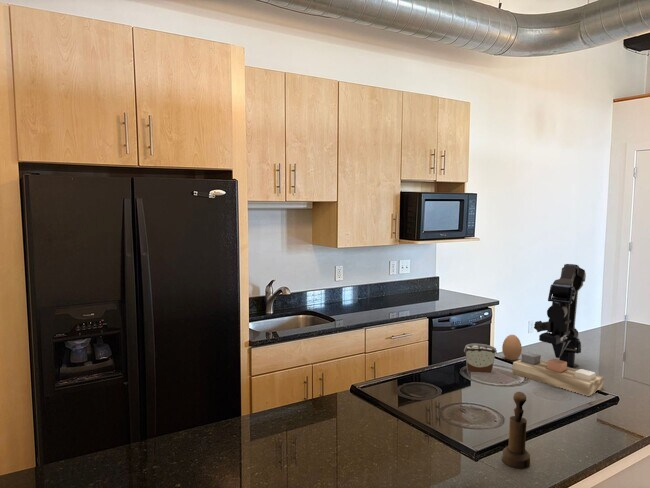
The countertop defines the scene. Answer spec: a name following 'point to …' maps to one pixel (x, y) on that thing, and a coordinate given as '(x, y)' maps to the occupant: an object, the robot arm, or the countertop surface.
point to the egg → (512, 347)
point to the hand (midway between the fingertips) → (557, 357)
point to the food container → (480, 358)
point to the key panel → (557, 377)
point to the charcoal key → (531, 358)
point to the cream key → (585, 374)
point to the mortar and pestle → (517, 436)
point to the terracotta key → (557, 365)
